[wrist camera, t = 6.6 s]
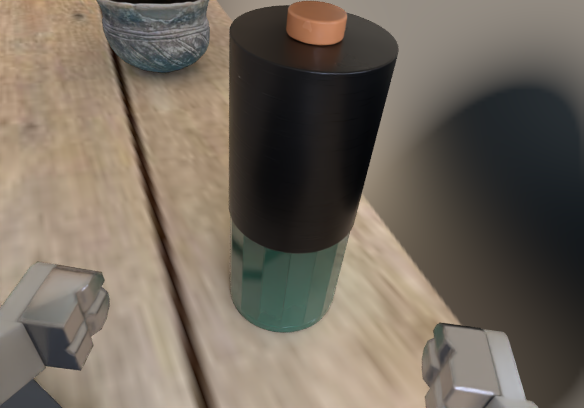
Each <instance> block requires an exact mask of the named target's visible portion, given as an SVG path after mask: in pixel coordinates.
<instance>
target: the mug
mask: <svg viewBox="0 0 584 408" xmlns="http://www.w3.org/2000/svg"><path fill="white" fill-rule="evenodd" d="M97 2H98V4H99V6H100V8H101V9H102V12H103V19H102V24H103V31H104V33H105V36H106V38H107V40H108V42H109V44H110V46H111V48H112V49H113V50H114V52H115V53H116V54H117V55H118V56H119V57H120V58H121V59H122V60H124V61H125V62H126V63H128V64H130V65H133V66H135V67H137V68H139V69H142V70H146V71H153V72H162V73H166V72H171V71H175V70H180V69H183V68H184V67H187V66H189V65H191V64H193V63H195V62H196V61H197V60H198V59H199V58H200V57H201V56H202V55H203V54H204V53H205V52H206V50H207V47H208V44H209V35H210V27H209V22H208V19H207V16H206V10H207V6H208V2H209V0H97Z"/></svg>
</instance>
